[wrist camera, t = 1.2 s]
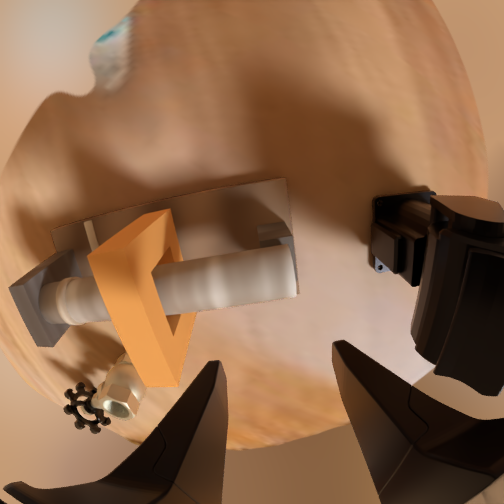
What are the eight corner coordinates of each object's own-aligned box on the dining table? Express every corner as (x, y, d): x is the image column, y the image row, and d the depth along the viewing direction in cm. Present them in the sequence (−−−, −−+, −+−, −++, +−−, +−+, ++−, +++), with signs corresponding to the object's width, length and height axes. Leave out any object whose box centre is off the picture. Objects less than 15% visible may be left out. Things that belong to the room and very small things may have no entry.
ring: (170, 208, 18) (123, 248, 11) (197, 310, 21) (178, 386, 13) (144, 214, 18) (86, 255, 11) (173, 313, 21) (145, 387, 13)
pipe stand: (283, 177, 19) (308, 193, 12) (297, 287, 23) (320, 350, 15) (56, 227, 20) (-2, 261, 13) (88, 314, 23) (49, 366, 16)
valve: (121, 334, 24) (74, 374, 27) (96, 379, 18) (53, 411, 20) (169, 374, 26) (114, 406, 28) (157, 423, 20) (99, 444, 22)
